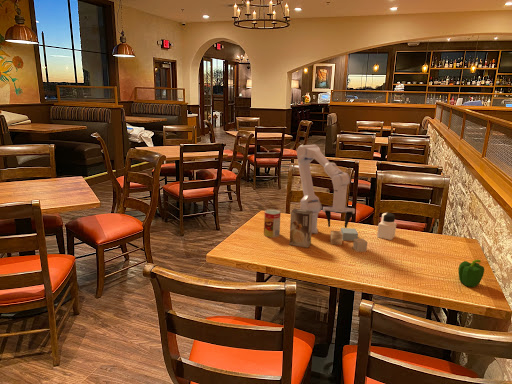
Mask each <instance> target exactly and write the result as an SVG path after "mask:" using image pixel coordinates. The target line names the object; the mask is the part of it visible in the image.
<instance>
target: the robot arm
mask: <svg viewBox="0 0 512 384" xmlns="http://www.w3.org/2000/svg"><path fill="white" fill-rule="evenodd" d="M295 152H296V158H297V165H298V171H299V175H300V180H301V188H302V193H303V197H302V198H301V199H300V209H301V210H308V211H312V230H311V234H318V233H319V231H318V217H319V213H320V212H321V210H322V212H323V213H325V217H326V220H327V226H328V228H330V227H331V216H332V213H345V219H344V228H348V224H349V221H350V220H351V219H352V217H353V214H355V213H356V209H355V207H354V208H353V207H352V208H351V207H346V202H347V190H348V185H350V184H351V177H350V175H349V173H348V172H344V171H343V170H342V169H340V168H339V167H338V165H337V164H336V163H335V162H333V161H332V162H330V160H328V158H327V157H326V156H325V155H324V154H323V153H322V152H321V148H320V147H319V146H318V145H317V144H314V143H313V144H305V145H304V144H303V145H302V144H300V145H299V146H298V147H297V149H296V151H295ZM313 160H315V161H316V162H317V163H319V164H320V165H321V167H323V171H324V173H325V174H326V175H327V176H328V177H329V178H330V179H331V183H332V187H333V188H332V189H333V198H332V199H333V200H332V206H322V203H321V201H320V198H319V197H318V196H317V195H316V194H315V190H314V184H313V178H312V177H313V176H312V173H311V168H310V165H311V162H312V161H313ZM331 212H332V213H331Z"/></svg>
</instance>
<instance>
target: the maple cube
mask: <svg viewBox="0 0 512 384" xmlns="http://www.w3.org/2000/svg"><path fill="white" fill-rule="evenodd" d="M342 237H343V234H342V231H341V230H330V237H329V241H330V245H338V246H339V245H341V246H342V245H343V240H342Z"/></svg>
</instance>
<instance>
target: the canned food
mask: <svg viewBox="0 0 512 384" xmlns="http://www.w3.org/2000/svg"><path fill="white" fill-rule="evenodd" d="M263 216H264V218H263V219H264V220H263V221H264V222H263V224H264V225H263V235H264V237H267V238H279V237H280V234H281V233H280V232H281V210H278V209H273V208H272V209H271V208H270V209H266V210H264V215H263Z"/></svg>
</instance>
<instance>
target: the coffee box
mask: <svg viewBox="0 0 512 384" xmlns="http://www.w3.org/2000/svg"><path fill="white" fill-rule="evenodd" d="M289 222H290V226H289V230H290V231H289V245H290V246H296V247H300V248H309V247H310V246H311V244H312V233H311V230H312V211H308V210H301V208H300V209H299V208H293V209H292V210H291V212H290V221H289Z"/></svg>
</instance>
